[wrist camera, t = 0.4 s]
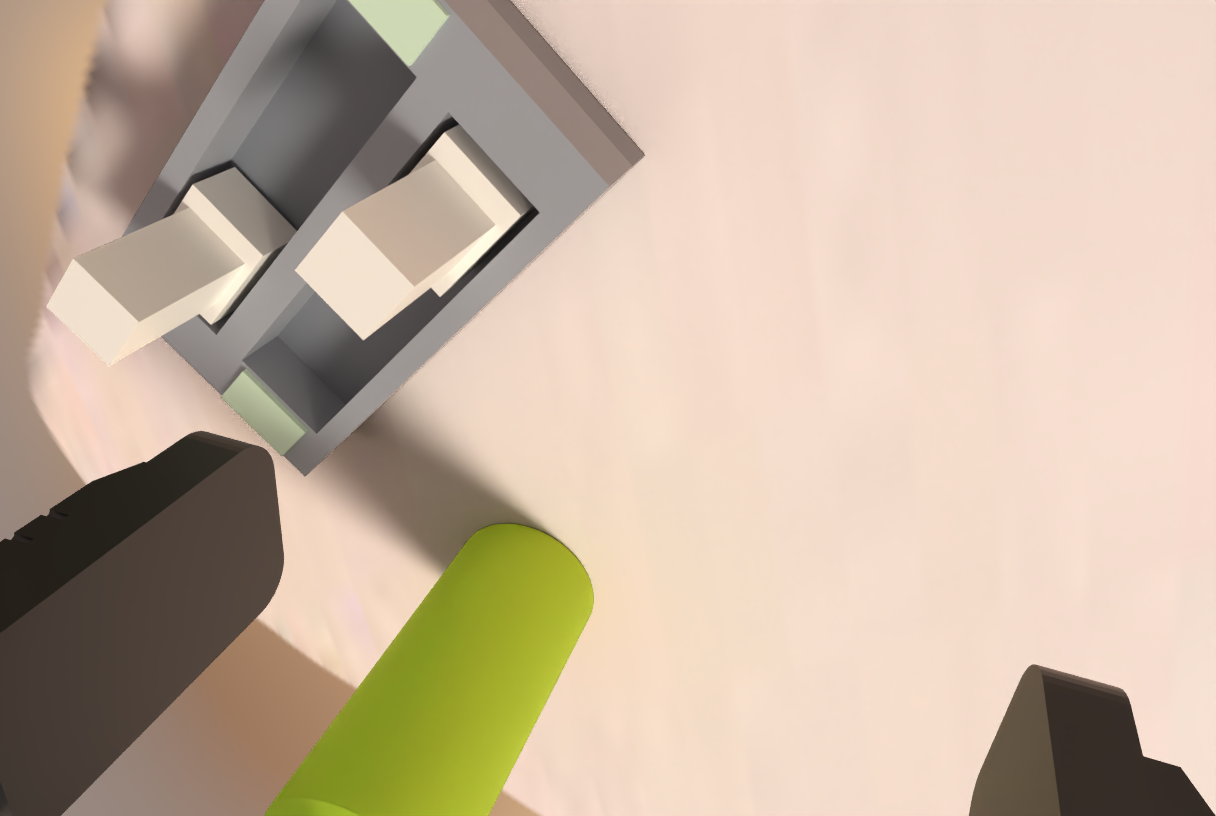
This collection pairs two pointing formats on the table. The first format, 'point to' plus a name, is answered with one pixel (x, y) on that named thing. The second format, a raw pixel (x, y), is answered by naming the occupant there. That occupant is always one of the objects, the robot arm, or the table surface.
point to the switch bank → (373, 187)
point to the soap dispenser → (452, 687)
